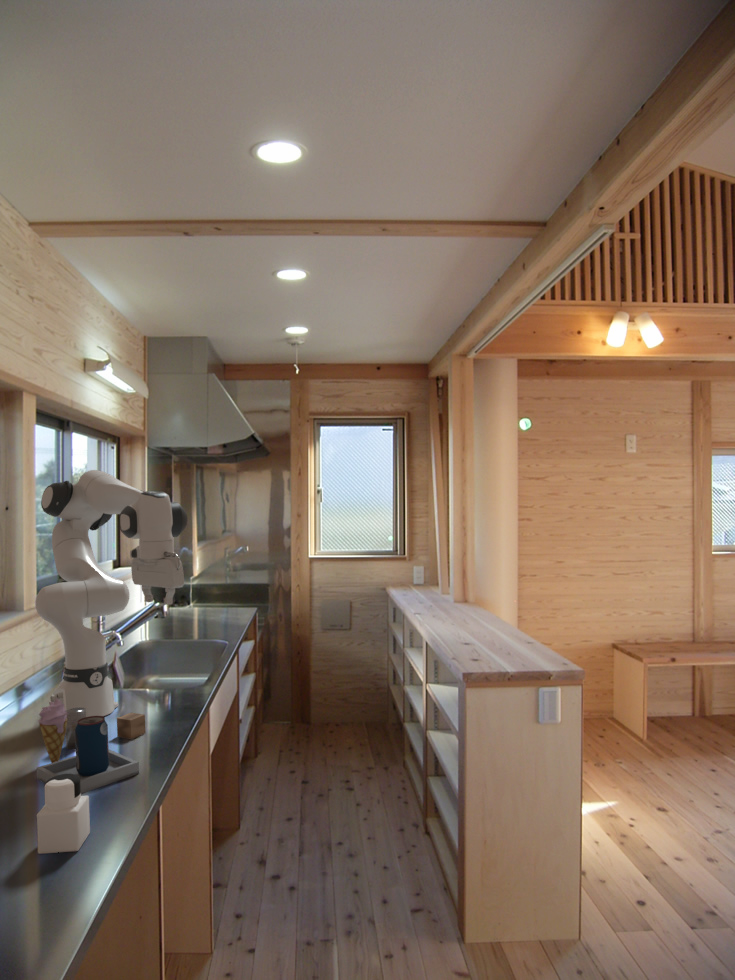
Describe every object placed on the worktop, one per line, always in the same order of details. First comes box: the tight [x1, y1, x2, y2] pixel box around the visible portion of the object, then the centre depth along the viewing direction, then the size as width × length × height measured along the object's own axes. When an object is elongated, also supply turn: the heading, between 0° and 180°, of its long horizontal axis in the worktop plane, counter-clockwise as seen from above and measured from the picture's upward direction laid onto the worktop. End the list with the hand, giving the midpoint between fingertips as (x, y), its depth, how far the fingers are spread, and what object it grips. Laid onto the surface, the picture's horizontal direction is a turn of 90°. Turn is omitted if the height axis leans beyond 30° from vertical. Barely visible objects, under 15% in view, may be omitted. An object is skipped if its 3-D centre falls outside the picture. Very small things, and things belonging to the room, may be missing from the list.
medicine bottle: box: [35, 774, 91, 855], centre depth 131 cm, size 7×7×12 cm
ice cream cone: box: [38, 699, 68, 763], centre depth 171 cm, size 7×6×15 cm
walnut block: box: [116, 712, 146, 740], centre depth 190 cm, size 5×5×5 cm
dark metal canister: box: [65, 708, 86, 750], centre depth 183 cm, size 5×5×9 cm
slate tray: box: [36, 749, 140, 795], centre depth 162 cm, size 16×16×3 cm
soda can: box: [75, 716, 110, 777], centre depth 163 cm, size 7×7×12 cm
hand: (158, 603), depth 192 cm, fingers open, 8 cm apart
